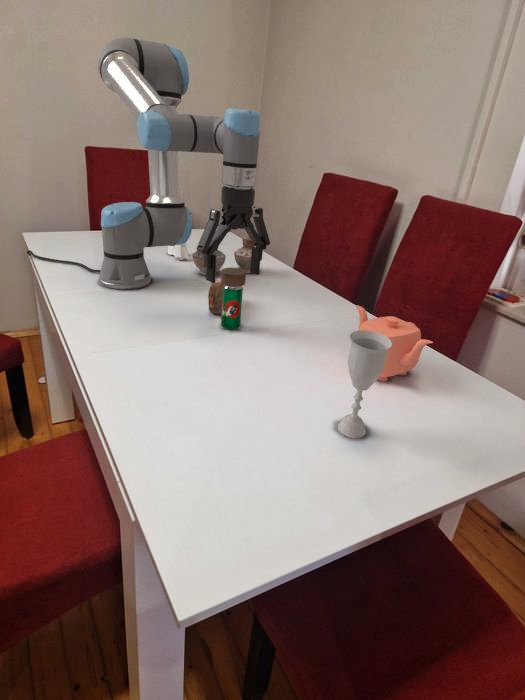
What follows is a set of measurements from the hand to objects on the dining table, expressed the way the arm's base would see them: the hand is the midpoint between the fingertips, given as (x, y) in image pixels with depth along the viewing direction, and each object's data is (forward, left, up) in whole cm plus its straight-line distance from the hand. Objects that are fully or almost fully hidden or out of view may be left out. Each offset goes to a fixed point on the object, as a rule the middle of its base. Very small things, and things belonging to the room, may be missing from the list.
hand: (233, 277), depth 111 cm
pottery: (-38, +27, -14) cm, 49 cm away
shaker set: (-61, +21, -14) cm, 66 cm away
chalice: (+47, -8, -14) cm, 50 cm away
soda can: (0, 0, -14) cm, 14 cm away
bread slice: (-12, +5, -14) cm, 19 cm away
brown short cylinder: (0, 0, -1) cm, 1 cm away
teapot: (+36, +16, -14) cm, 42 cm away
